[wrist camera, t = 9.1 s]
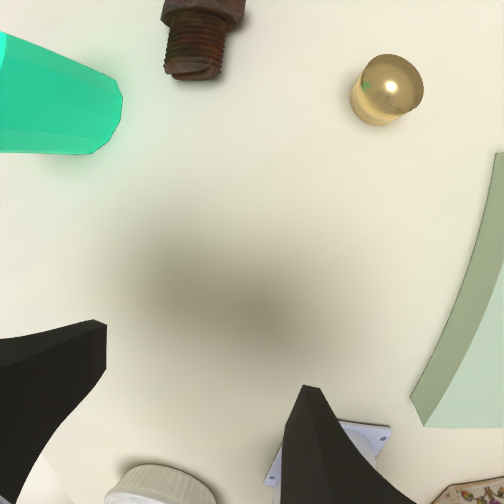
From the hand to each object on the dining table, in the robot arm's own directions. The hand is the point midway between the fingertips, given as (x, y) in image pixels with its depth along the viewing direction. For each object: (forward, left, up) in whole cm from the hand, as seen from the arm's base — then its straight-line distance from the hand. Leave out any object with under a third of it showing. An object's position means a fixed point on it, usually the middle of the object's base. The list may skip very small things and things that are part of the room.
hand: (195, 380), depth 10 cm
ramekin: (-24, +2, -10) cm, 26 cm away
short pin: (+13, -5, -9) cm, 17 cm away
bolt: (+19, +6, -10) cm, 22 cm away
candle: (+9, +13, -10) cm, 18 cm away
